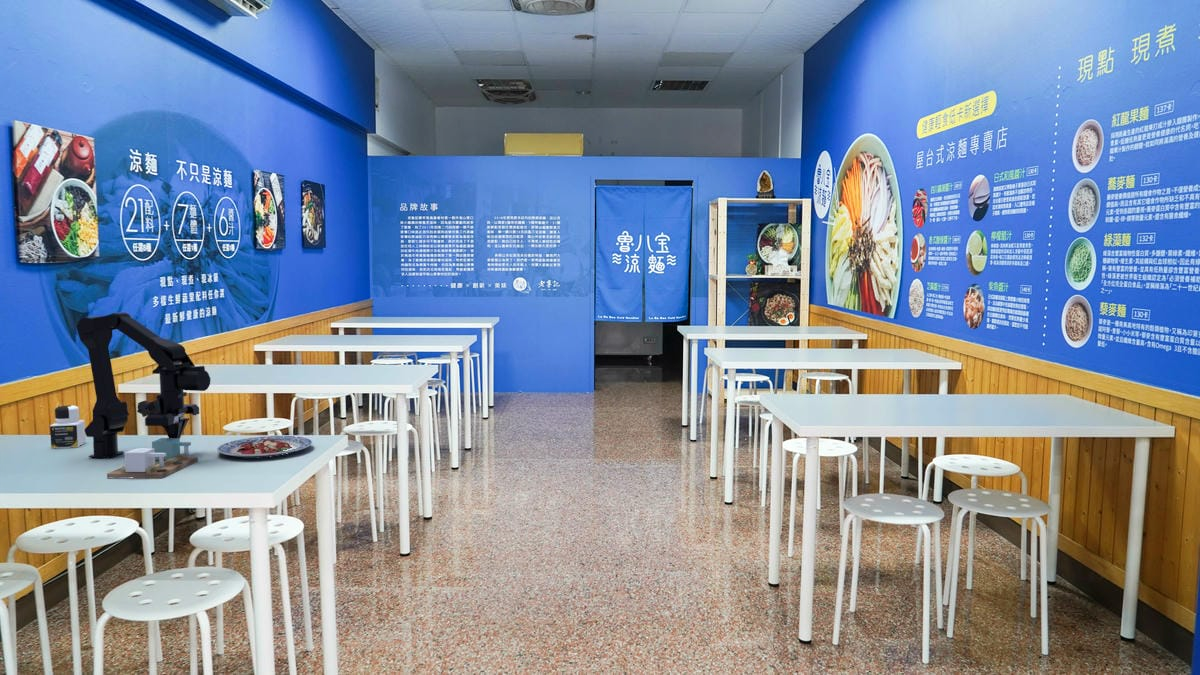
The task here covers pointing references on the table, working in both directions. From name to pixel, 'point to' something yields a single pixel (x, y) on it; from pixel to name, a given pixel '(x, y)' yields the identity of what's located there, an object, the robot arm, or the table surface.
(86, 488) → the table surface
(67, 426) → the medicine bottle
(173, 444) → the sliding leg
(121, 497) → the table surface
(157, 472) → the board
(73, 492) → the table surface
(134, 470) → the fixed leg
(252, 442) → the ceramic plate
